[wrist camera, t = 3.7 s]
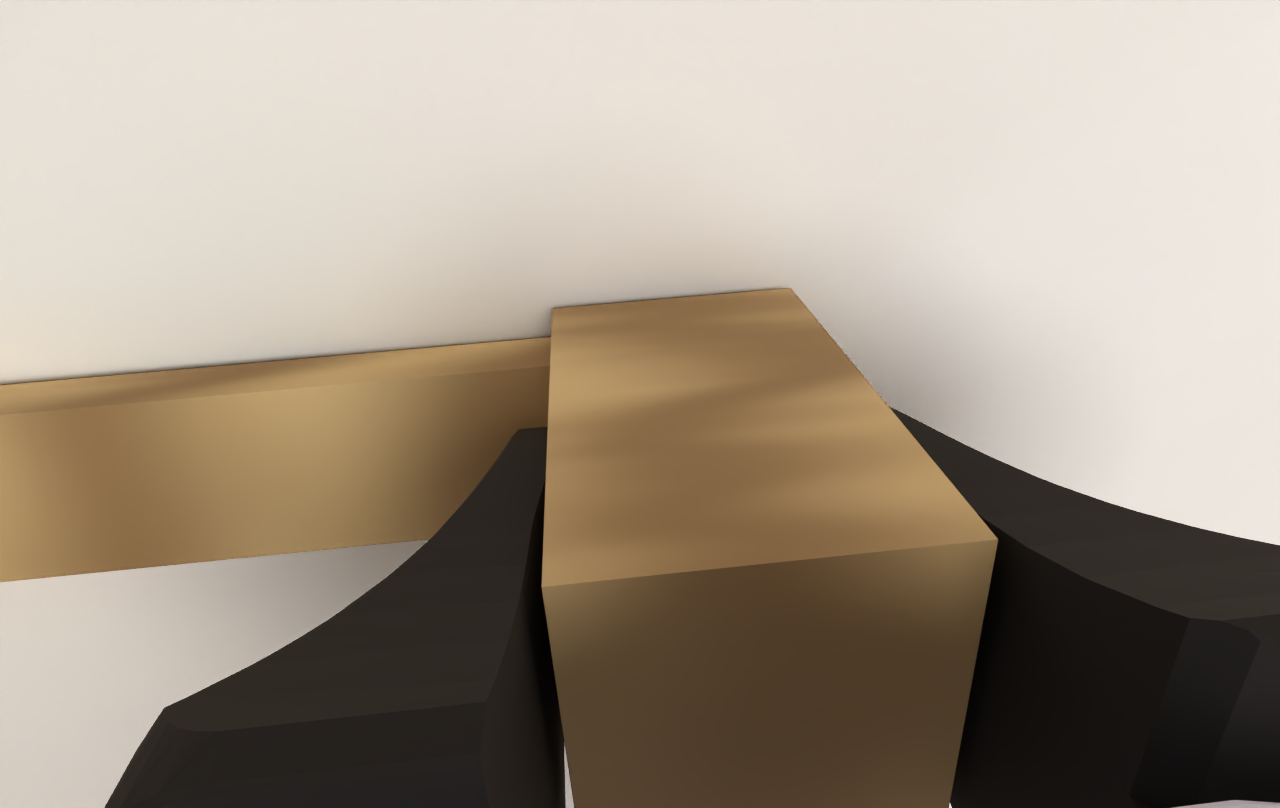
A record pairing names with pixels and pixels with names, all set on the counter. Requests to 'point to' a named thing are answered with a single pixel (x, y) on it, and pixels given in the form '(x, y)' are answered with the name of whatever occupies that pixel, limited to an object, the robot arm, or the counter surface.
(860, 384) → the tool
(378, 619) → the robot arm
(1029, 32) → the counter surface
